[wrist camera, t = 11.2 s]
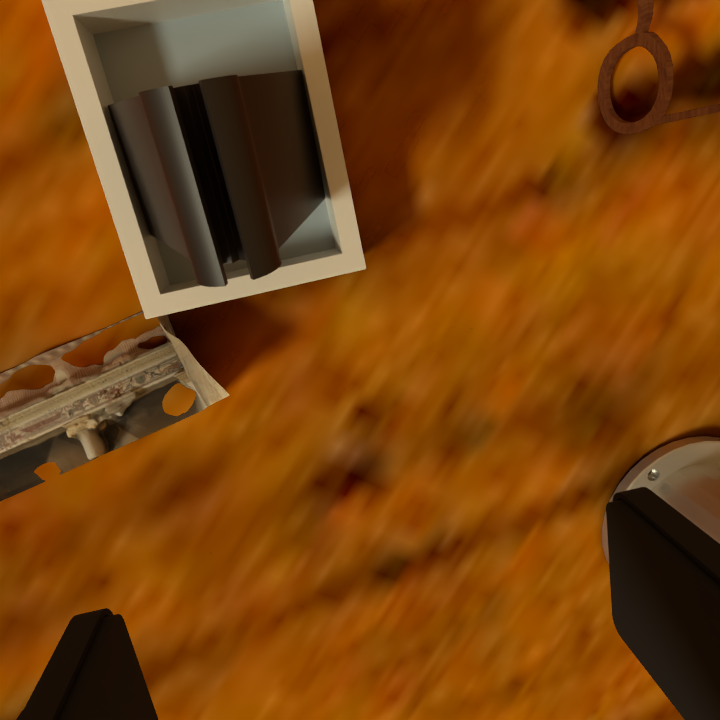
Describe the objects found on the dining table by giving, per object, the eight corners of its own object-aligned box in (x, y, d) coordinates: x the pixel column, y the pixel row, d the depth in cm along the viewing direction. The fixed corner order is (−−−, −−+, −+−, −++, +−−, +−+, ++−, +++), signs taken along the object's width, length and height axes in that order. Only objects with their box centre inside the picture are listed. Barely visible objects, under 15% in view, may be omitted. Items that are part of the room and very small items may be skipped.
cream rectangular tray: (297, -20, 28) (302, -54, 24) (354, 260, 32) (366, 269, 29) (70, 20, 27) (38, -8, 23) (160, 304, 31) (145, 319, 28)
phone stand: (150, 232, 29) (98, 313, 18) (108, 103, 26) (18, 110, 16) (324, 197, 30) (372, 255, 19) (301, 69, 27) (341, 54, 16)
